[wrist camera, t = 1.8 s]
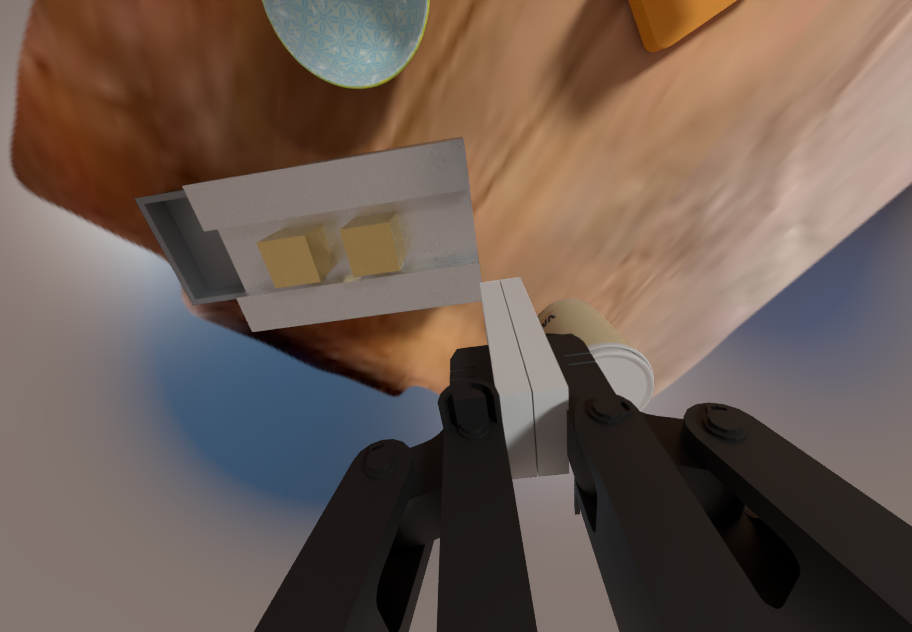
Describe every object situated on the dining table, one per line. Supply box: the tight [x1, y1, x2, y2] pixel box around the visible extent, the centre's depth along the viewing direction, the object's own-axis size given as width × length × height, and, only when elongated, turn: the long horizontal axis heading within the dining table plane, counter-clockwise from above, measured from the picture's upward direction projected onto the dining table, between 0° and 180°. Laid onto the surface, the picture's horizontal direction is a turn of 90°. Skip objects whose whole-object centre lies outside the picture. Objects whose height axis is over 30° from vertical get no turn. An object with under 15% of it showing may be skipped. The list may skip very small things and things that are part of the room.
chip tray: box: [135, 189, 246, 305], centre depth 36 cm, size 11×12×3 cm
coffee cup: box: [538, 299, 654, 412], centre depth 37 cm, size 9×9×12 cm
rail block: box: [182, 137, 482, 332], centre depth 32 cm, size 12×20×10 cm, turn 99°
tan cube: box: [339, 212, 406, 277], centre depth 27 cm, size 4×4×4 cm
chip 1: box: [257, 224, 335, 288], centre depth 27 cm, size 4×4×4 cm
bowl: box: [262, 0, 430, 89], centre depth 26 cm, size 11×12×6 cm
